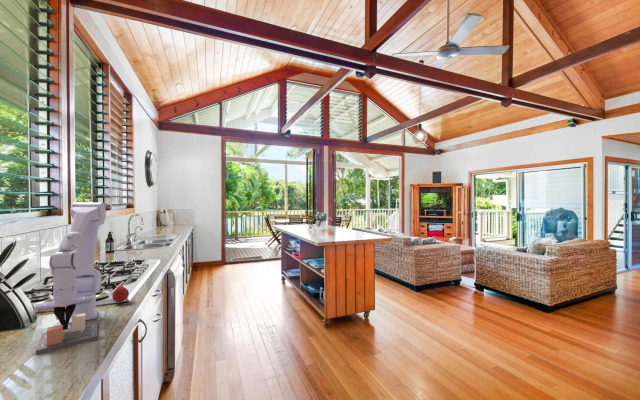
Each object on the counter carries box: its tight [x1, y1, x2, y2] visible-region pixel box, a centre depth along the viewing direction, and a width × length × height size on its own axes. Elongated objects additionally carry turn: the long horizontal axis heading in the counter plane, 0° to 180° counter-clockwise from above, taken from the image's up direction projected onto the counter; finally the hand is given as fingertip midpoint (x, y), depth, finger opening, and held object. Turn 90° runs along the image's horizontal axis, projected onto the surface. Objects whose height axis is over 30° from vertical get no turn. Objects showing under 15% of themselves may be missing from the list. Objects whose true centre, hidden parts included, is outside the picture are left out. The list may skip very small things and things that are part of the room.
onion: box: [111, 284, 130, 303], centre depth 121 cm, size 6×6×8 cm
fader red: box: [46, 324, 63, 346], centre depth 86 cm, size 3×3×5 cm
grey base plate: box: [35, 321, 98, 355], centre depth 91 cm, size 13×14×1 cm
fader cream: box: [71, 313, 86, 332], centre depth 94 cm, size 3×3×5 cm
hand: (65, 328), depth 92 cm, fingers closed
